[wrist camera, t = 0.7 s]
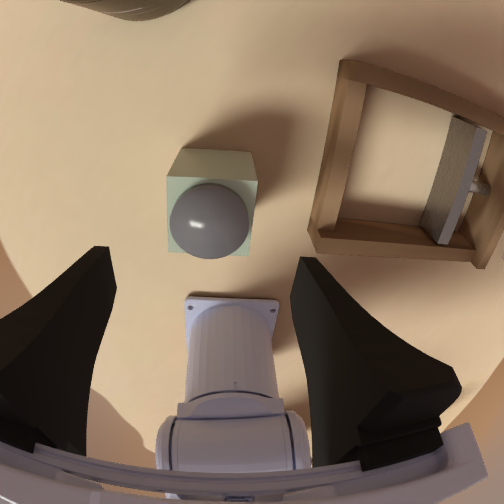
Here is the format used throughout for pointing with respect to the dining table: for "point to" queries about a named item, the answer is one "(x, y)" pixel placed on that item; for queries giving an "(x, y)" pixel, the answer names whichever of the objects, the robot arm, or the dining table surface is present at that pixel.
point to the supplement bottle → (131, 8)
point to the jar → (211, 202)
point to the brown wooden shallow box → (394, 235)
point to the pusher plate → (454, 180)
